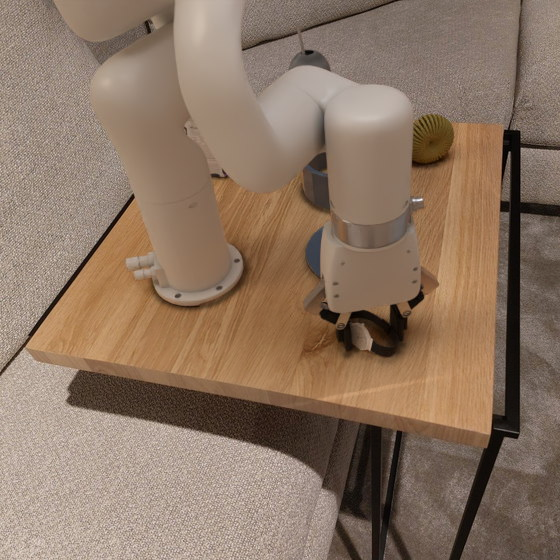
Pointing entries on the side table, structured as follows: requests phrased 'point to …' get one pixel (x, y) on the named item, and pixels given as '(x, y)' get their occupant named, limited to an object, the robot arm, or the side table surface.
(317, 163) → the tin
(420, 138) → the sculpture
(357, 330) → the watch
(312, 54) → the beverage cup
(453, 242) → the side table surface
